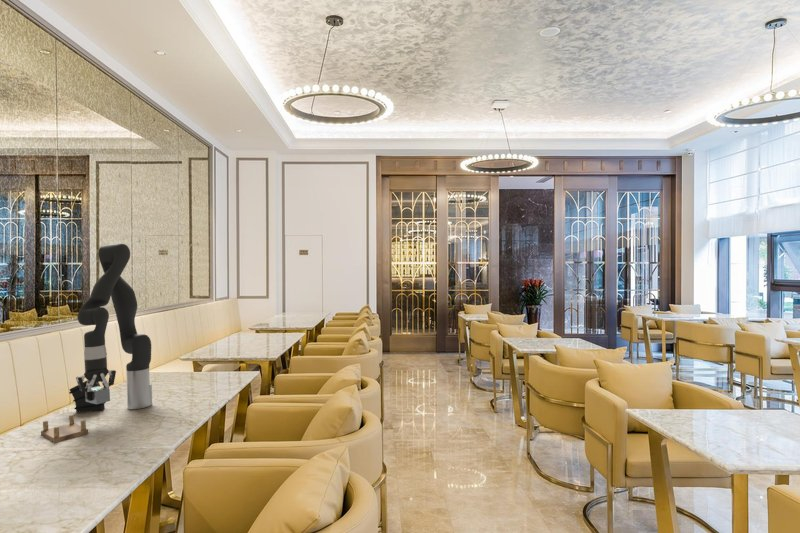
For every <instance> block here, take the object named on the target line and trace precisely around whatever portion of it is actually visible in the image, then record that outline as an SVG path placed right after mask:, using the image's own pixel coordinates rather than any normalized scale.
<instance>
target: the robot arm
mask: <svg viewBox="0 0 800 533" xmlns="http://www.w3.org/2000/svg"><path fill="white" fill-rule="evenodd" d="M97 252H98V253H97V254H98V260H99V262H100V265H101V268H102V271H103V274H102V275H101V276H100V277H99V279H97V281H96V282H95V284H94V285H93V288H92V290H91V292H90V295H89V297H88V298H87V300H86V301H85V303H84V304H82V306H81V308H80V309H79V311H78V313H77V321H78V323H79V324H80V325H82V326H95V327H94V329H93V330H89V331H87V332H85V333H84V335H83V340H84V341H83V343H84V349H83V350H84V351H83V357H84V359H83V360H84V374H83V375H80V376H76V377H75V380H76V382H77V385H78V386H79V389H80V391H83V392H84V391H85V392H86V399H87V400H88V401H92V395H91V388H92V386H93V384H94V383H96V382H99V383H101V384H102V387H105V388H109V389H110V387H111V386H113V385H114V384H115V381H116V380H115V379H116V374H117V371H116V370H114V369H111V370H110V369H108V361H107V360H108V359H107V358H108V357H107V354H108V353H107V348H106V331H107V327H108V323H109V318H110V315H109V311H108V310H107V309H106V307H104V306H107V305H108V304H109V302H110V299H111V302H112V306H113V308H114V312H115V316H116V321H117V325H118V329H119V337H120V344H121V348H122V350H123V351H124V352H125V353H126V354H130V355H131V361H130V362H128V363H126V366H125V370H126V372H125V373H126V400H127V401H126V402H127V403H126V405H127V406H126V407H127V409H128V410H138V409H139V410H140V409H144V408H147V407H150V406H152V405H153V385H152V384H151V382H150V381H151V380H150V376H151V375H150V374H151V373H150V364H151V361H152V340H151V338H150V337H149V335H147V334H142V333H138V331H137V328H136V327H137V326H136V324H135V323H136V322H135V319H136V318H135V317H136V314H137V310H138V302H137V296H136V293H135V290H134V288H132V286H131V284H129V283H128V282H127V281H126V280H125V279H124V278H123V277H122V276H121V275H122V273H123V272H124V270H125V268H126V267H127V265H128V263H129V261H130V257H131V250H130V248H129V246H128V245H127V244H126V243H122V242H121V243H112V244H104V245H101V246H100V247H99V249H98V251H97ZM107 376H109V377H108V380H107ZM85 379H86V381H87V380H88V381H87V384H86V388H85V386H84V383H83V382H85Z"/></svg>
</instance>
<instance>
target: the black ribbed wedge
mask: <svg viewBox="0 0 800 533" xmlns="http://www.w3.org/2000/svg"><path fill="white" fill-rule="evenodd" d="M87 381H88V380H87V379H86V380H84V381H83V383H84V386H85V388H86V384H87ZM97 386H100V387H101V384H100V382H96V383H94V384H93V386H92V388H93V387H97ZM68 394H70V395H72V397H73V400H72V401H73V402H74V403H75V407H74V410H75V412H76V413H86V412H87V413H88V412H89V411H90V412H100V411H103V410H105V409H106V407H105V404H106V403H107V402H104V403H100V404H93V403H89V402H86V397H85V391H84V392H83V391H80V389H79V386H78V384H77V385H76V386H73V387H71V388H69V392H68Z"/></svg>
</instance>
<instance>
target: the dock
mask: <svg viewBox="0 0 800 533" xmlns="http://www.w3.org/2000/svg"><path fill="white" fill-rule="evenodd" d="M68 419H69V421H68V422H69V423H67V424H63V425H59V426H54V427H51V428H49V420H43V421H42V430H40V434H41V436H42V437H44V438H46V439H48V440H49V441H50V442H53V443H57V442H60V441H65V440H69V439H72V438H77V437H80V436H85V435H88V434H89V429H88V428H87V420H86V419H83V420H80V424H78V423H75V414H70V415H69V417H68Z"/></svg>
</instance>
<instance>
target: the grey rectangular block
mask: <svg viewBox="0 0 800 533" xmlns="http://www.w3.org/2000/svg"><path fill="white" fill-rule="evenodd" d="M110 392H111V391H110V387H109V388H105V387H104V386H101V385H100V386H97V387H93V388H91V395H92V401H88V400H87V399H86V402H89V403H93V404H100V403H104V402H106V403H107V402H111V393H110ZM85 397H86V392H85Z"/></svg>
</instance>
